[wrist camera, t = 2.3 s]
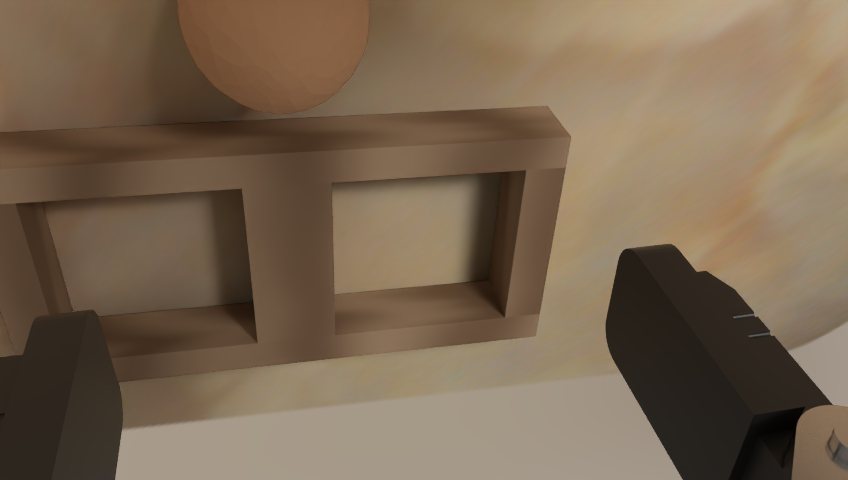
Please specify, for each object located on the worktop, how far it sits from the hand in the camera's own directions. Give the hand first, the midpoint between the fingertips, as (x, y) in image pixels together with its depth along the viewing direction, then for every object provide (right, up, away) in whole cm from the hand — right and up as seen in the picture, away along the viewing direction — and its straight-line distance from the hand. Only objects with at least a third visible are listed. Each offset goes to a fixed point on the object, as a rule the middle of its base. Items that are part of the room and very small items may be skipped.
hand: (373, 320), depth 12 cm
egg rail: (-5, +2, +18) cm, 19 cm away
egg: (-4, +10, +12) cm, 16 cm away
